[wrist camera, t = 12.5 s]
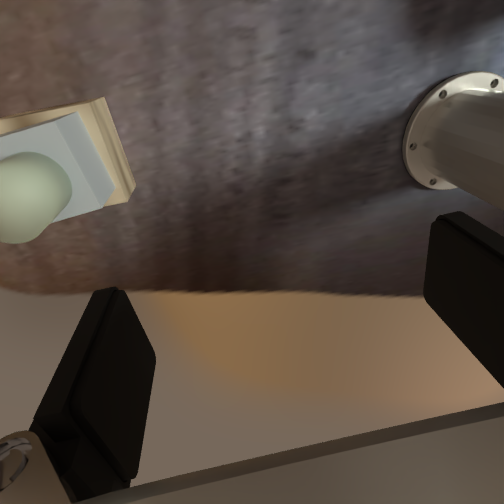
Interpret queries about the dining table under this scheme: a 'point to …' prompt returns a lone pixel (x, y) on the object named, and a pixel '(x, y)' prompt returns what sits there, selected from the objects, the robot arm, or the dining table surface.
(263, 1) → the dining table surface
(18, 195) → the sage cylinder
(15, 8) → the dining table surface
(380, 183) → the dining table surface
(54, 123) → the tower top
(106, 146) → the tower base
